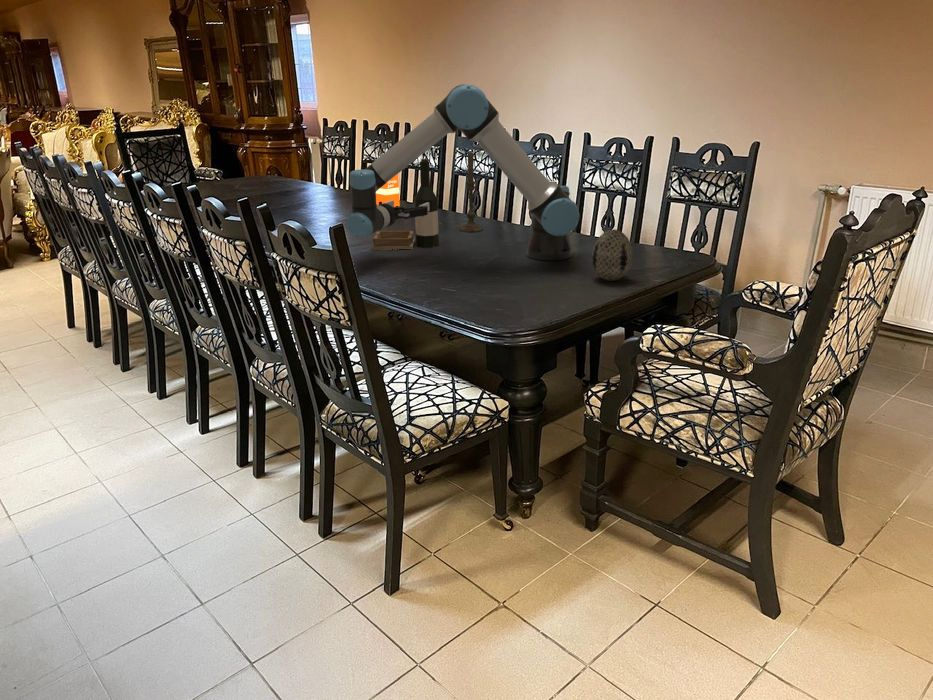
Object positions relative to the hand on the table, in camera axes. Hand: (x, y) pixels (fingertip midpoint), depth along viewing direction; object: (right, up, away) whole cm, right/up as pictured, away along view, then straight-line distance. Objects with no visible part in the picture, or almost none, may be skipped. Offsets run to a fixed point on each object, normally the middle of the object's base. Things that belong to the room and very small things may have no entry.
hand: (410, 205), depth 238 cm
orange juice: (-17, +17, +82) cm, 85 cm away
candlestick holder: (+21, -3, +32) cm, 39 cm away
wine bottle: (+5, -12, +10) cm, 17 cm away
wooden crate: (-7, -12, +10) cm, 17 cm away
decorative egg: (+62, -29, -34) cm, 77 cm away
